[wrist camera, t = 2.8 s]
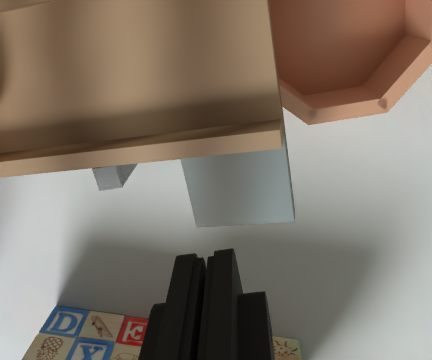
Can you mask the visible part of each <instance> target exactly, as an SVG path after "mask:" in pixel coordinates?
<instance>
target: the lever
mask: <svg viewBox="0 0 432 360" xmlns="http://www.w3.org/2000/svg"><path fill="white" fill-rule="evenodd" d="M175 159H181V163H182V167H183V171H184V175H185V180H186V184H187V188H188V192H189V197H190V201H191V205H192V209H193V213H194V218H195V222H196V226H197V227H210V226H228V225H246V224H265V223H283V222H294V220H295V208H294V200H293V191H292V183H291V175H290V167H289V158H288V150H287V142H286V134H285V126H284V117H283V109H282V101H281V93H280V84H279V76H278V68H277V60H276V52H275V43H274V35H273V27H272V19H271V11H270V2H269V0H0V177H10V176H19V175H29V174H39V173H48V172H58V171H68V170H78V169H87V168H97V167H107V166H117V165H126V164H136V163H146V162H155V161H165V160H175Z"/></svg>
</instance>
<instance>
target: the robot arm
mask: <svg viewBox="0 0 432 360" xmlns="http://www.w3.org/2000/svg"><path fill="white" fill-rule="evenodd" d="M138 360H275V355H274V345H273V337H272V329H271V322H270V315H269V309H268V303H267V298H266V293H265V291H264V292H255V293H247V294H243V291H242V286H241V281H240V276H239V271H238V266H237V261H236V257H235V252H234V249H226V250H218V251H215V252H214V256H210V257H208V261H207V269H206V265H205V261H204V258H197V255H196V254H187V255H179V256H177V257H176V260H175V264H174V268H173V273H172V277H171V281H170V286H169V290H168V294H167V299H166V303H160V304H154V305H153V307H152V309H151V313H150V317H149V320H148V324H147V328H146V331H145V335H144V339H143V342H142V346H141V350H140V354H139V357H138Z"/></svg>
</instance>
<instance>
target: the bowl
mask: <svg viewBox="0 0 432 360" xmlns="http://www.w3.org/2000/svg"><path fill="white" fill-rule="evenodd" d="M269 2H270V11H271V19H272V27H273V35H274V43H275V52H276V60H277V68H278V76H279V84H280V93H281V101H282V106H283V107H284V108H285V109H287V110H288V111H290V112H291V113H292V114H294V115H295V116H296V117H298V118H299V119H301V120H302V121H303V122H305V123H306V124H308V125H312V124H318V123H324V122H331V121H337V120H343V119H350V118H356V117H362V116H369V115H375V114H381V113H387V112H388V111H389V110H390V109H391V108H392V107H393V106H394V105H395V104H396V102H397V101H398V100H399V99H400V98H401V97H402V96H403V95H404V94H405V92H406V91H407V90H408V89H409V88H410V87H411V86H412V85H413V84H414V83H415V81H416V80H417V79H418V78H419V77H420V76H421V75H422V74H423V73H424V71H425V70H426V69H427V68H428V67H429V66H430V65H431V64H432V0H269Z"/></svg>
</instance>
